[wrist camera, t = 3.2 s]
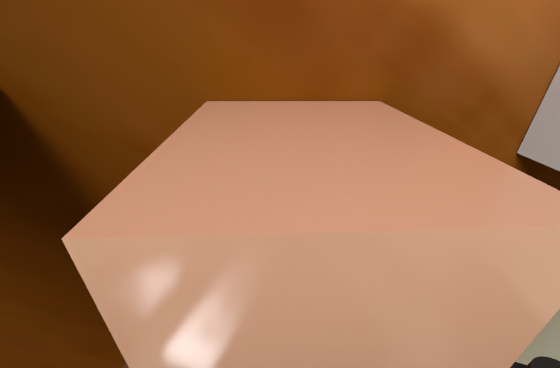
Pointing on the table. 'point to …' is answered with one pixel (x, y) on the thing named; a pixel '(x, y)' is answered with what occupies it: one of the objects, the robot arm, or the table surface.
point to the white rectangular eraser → (545, 129)
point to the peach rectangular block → (320, 245)
